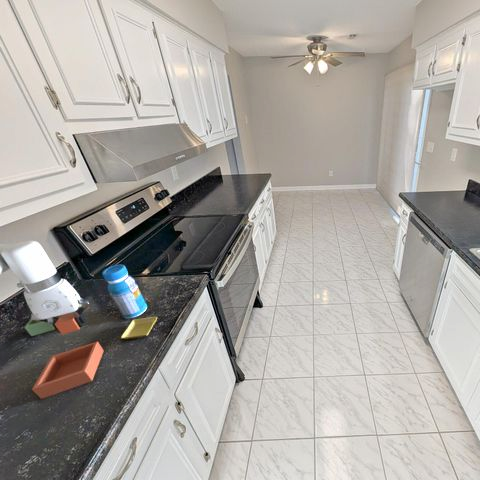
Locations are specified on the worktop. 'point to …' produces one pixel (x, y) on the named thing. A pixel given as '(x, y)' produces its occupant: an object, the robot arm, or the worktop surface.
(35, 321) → the sage bin
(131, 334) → the yellow flat square tray
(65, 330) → the block
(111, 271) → the blue medicine bottle
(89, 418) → the worktop surface
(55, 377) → the terracotta bin
